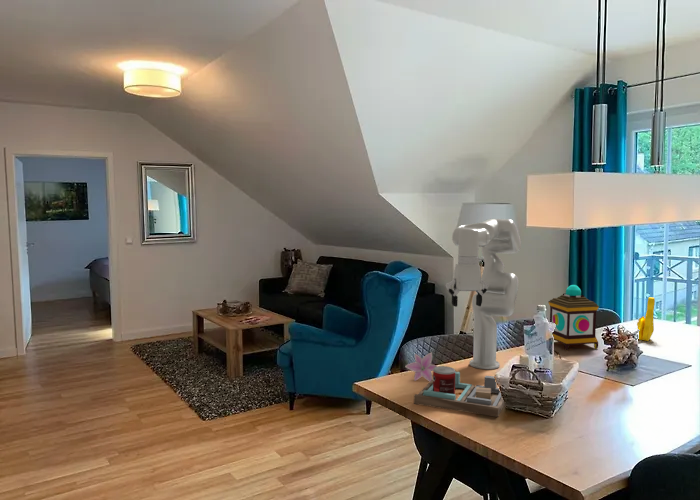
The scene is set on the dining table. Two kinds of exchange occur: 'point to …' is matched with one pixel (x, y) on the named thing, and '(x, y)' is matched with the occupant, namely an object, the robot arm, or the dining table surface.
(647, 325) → the yellow foam finger
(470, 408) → the divided compartment tray
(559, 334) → the decorative lantern
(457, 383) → the teal rectangular frame
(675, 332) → the dining table surface
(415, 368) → the lily
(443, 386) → the canned food
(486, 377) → the grey organizer tray
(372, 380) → the dining table surface
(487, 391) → the tan wooden cube
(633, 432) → the dining table surface
